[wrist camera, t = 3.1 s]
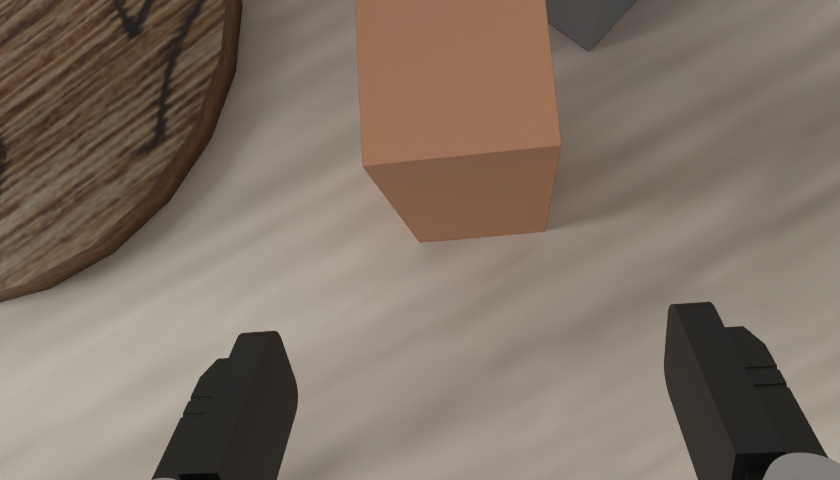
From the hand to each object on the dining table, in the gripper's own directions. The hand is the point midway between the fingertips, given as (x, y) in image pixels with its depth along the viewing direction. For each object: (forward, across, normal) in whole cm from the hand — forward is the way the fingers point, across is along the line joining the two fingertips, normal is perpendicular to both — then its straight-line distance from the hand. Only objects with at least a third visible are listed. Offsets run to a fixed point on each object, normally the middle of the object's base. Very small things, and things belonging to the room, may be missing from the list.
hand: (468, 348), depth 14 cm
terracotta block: (+14, 0, +3) cm, 14 cm away
